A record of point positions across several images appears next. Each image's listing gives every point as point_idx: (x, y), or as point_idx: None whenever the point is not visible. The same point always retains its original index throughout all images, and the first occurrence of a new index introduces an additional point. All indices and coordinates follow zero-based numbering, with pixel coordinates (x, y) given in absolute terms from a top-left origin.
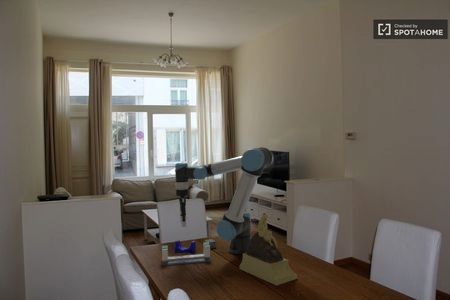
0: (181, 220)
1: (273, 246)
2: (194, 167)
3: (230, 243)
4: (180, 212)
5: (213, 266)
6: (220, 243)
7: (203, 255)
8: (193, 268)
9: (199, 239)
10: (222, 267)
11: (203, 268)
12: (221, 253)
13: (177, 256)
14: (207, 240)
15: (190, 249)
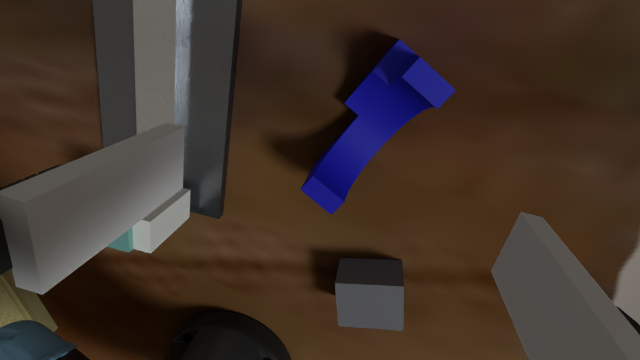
0: (87, 156)
1: None
2: None
3: (210, 353)
4: (619, 351)
5: (44, 169)
6: (407, 345)
7: None
8: (25, 66)
9: None
10: None
11: (21, 115)
12: (226, 276)
13: (175, 10)
14: (387, 298)
15: (327, 151)
